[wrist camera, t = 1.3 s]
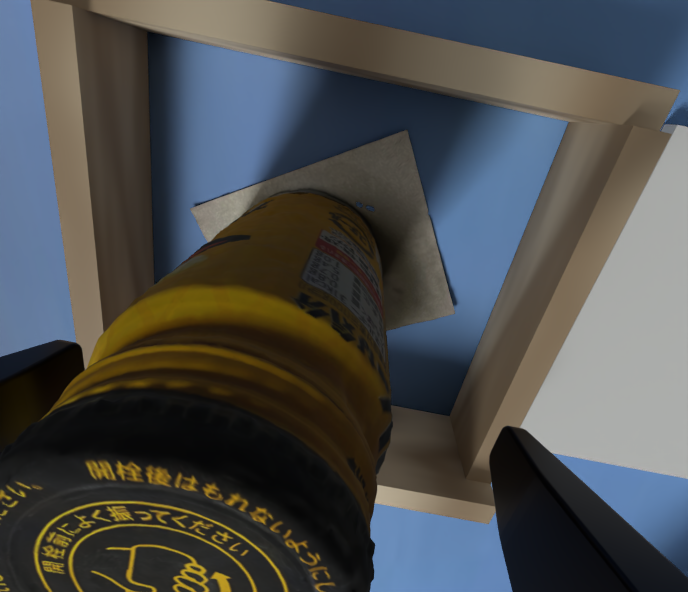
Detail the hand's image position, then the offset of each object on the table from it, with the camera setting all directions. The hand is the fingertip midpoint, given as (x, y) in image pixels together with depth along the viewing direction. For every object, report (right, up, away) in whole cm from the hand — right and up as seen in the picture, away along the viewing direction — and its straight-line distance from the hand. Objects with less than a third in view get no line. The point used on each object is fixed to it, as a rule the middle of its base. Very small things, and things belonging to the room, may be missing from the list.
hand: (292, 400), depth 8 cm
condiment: (0, +4, +7) cm, 8 cm away
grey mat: (+15, +1, +8) cm, 17 cm away
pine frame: (0, +4, +7) cm, 8 cm away
